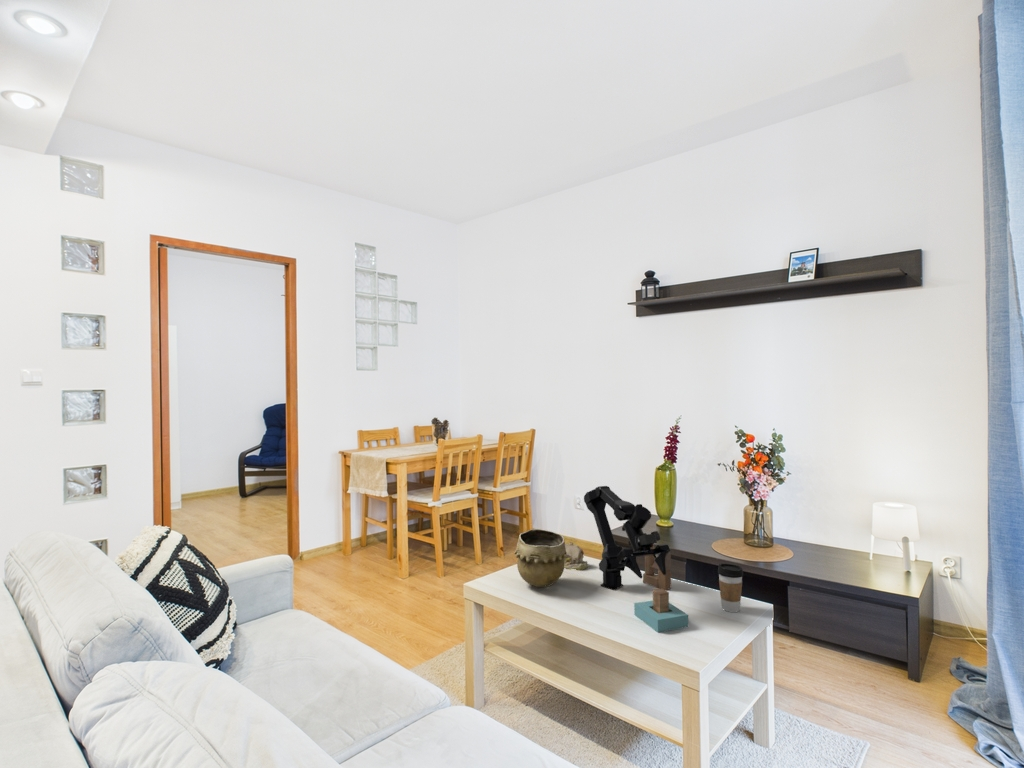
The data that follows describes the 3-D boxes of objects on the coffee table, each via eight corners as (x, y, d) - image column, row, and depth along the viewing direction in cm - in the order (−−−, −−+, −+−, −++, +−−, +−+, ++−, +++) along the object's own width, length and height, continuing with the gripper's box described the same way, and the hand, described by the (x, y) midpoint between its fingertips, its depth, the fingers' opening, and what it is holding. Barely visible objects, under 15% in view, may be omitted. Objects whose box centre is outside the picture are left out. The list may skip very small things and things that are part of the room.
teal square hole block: (634, 614, 188) (634, 603, 188) (663, 610, 192) (663, 598, 192) (657, 632, 175) (657, 619, 175) (688, 627, 178) (688, 614, 178)
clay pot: (579, 586, 215) (578, 535, 215) (539, 600, 201) (539, 546, 201) (542, 572, 231) (542, 524, 231) (503, 584, 217) (503, 534, 217)
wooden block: (665, 590, 210) (665, 543, 210) (642, 582, 218) (642, 537, 218) (671, 588, 212) (671, 541, 212) (648, 580, 220) (648, 535, 220)
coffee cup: (714, 603, 197) (714, 562, 197) (738, 603, 197) (738, 562, 197) (722, 613, 188) (722, 570, 188) (747, 613, 188) (747, 570, 188)
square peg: (653, 619, 184) (652, 589, 184) (661, 617, 186) (661, 588, 186) (659, 624, 181) (659, 593, 181) (668, 622, 182) (668, 592, 182)
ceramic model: (551, 566, 238) (551, 543, 238) (562, 559, 248) (562, 537, 248) (581, 572, 231) (581, 548, 231) (591, 564, 240) (591, 541, 240)
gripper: (620, 526, 189) (638, 568, 179) (667, 521, 195) (686, 561, 185) (609, 542, 197) (626, 584, 186) (655, 537, 202) (673, 577, 192)
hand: (653, 576), depth 187 cm, fingers open, 9 cm apart
